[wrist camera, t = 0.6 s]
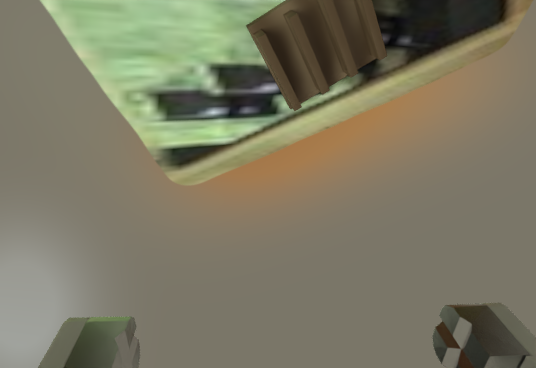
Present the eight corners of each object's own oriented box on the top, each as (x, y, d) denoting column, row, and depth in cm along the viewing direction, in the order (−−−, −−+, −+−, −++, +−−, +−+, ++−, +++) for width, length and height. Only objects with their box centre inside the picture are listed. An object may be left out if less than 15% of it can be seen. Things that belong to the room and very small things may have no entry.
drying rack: (288, 105, 56) (296, 117, 52) (246, 25, 48) (252, 32, 44) (375, 53, 54) (390, 61, 51) (347, -40, 46) (362, -38, 42)
